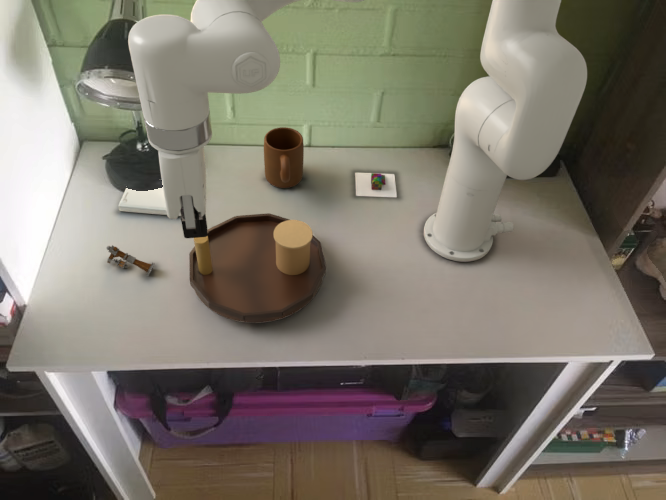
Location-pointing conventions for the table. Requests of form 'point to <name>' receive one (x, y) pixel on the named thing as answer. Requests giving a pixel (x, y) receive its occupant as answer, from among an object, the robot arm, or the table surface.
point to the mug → (283, 157)
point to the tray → (250, 271)
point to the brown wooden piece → (127, 260)
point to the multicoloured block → (375, 185)
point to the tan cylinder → (293, 246)
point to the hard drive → (144, 201)
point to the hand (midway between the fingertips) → (196, 233)
